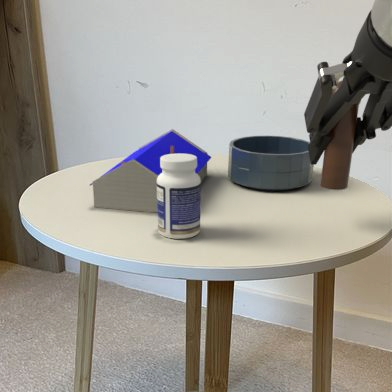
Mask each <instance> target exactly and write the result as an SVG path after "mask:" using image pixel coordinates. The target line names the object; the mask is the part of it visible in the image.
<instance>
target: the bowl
mask: <svg viewBox="0 0 392 392" xmlns="http://www.w3.org/2000/svg"><path fill="white" fill-rule="evenodd" d="M309 144H310V141H309V140H305V139H301V138H296V137H291V136H281V135H249V136H243V137H242V136H241V137H238V138H234V139H232V140H230V142H229V144H228V164H227V177H228V179H229V180H230V181H231V182H233V183H236V184H237V185H240V186H243V187H246V188H249V189H255V190H260V191H275V192H276V191H288V190H294V189H297V188H301V187H305V186H308V185H309V184H310V183H312V182H313V174H314V166H315V165H311V163H310V157H309V151H308V146H309Z"/></svg>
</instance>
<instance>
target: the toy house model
mask: <svg viewBox="0 0 392 392" xmlns="http://www.w3.org/2000/svg"><path fill="white" fill-rule="evenodd" d="M177 153H182V154H191V155H194V156H196V157H197V168H196V169H195V173H196V174H198V175H199V177H200V180H201V183H202V182H203V180H204V179H205V178H206V177H207V176H208V162H209V161H210V160H211V159H212V156H211V155H209V154H208V152H207V151H206V150H204V149H202V148H201V147H200V146H198V145H197V144H195V143H194V142H192V141H191V140H189V138H186V137H185V136H184V135H182V134H181V133H180V132H178V131H176V130H175V129H174V128H172V129H170V130H168V131H167V132H165V133H163V134H161V135H160V136H158V137H156V138H154V139H152V140H150V141H149V142H147V143H145V144H143V145H142V146H140V147H138V149H137V150H135V151H134V152H132V153H131V154H130V155H128V156H127V157H125V158H124V159H123V160H121V161H120V162H118V164H116V165H114V166H113V167H112V168H109V170H107V171H106V172H105V173H104V174H102V175H101V176H100V177H98V178H96V179H94V180H93V181H92V182H91V183H90V184H89V186H90V187H91V186H92V193H93V205H94V206H93V207H94V208H99V209H100V208H101V209H112V210H123V211H136V212H146V213H156V214H157V178H158V176H159V175H160V174H161V173H162V168H161V167H160V158H161V156H164V155H167V154H177Z"/></svg>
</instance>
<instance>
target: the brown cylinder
mask: <svg viewBox="0 0 392 392" xmlns="http://www.w3.org/2000/svg"><path fill="white" fill-rule="evenodd" d="M342 82H343V79H341V80H339V81H338V83H337V84H336V85H337V88H336V89H333V92H332V96H333V94H334V93H335V92H336V91H337V89H338V88H339V87H340V86H341V84H342ZM332 96H331V97H332ZM361 101H362V99H361V100H360V102H359V103H358V104H353V105H352V106H351V107H350V109H349V110H348V111H347V112H346V113H345V114H344V116H343V117H342V118H341V119H340V120H339V121H338V122H337V124H336V125H335V126H334V127H333V128H332V129H331V133H332V138H331V140H330V142H329V143H328V145H327V147H326V148H325V150H324V152H323V160H322V169H321V177H320V187H322V188H323V189H327V190H332V191H339V190H340V191H341V190H345V189H347V188H348V187H349V180H350V172H351V166H352V158H353V154H352V152H353V145H354V137H355V130H356V123H357V117H359V116H358V115H359V107H360V104H361ZM353 153H354V152H353Z"/></svg>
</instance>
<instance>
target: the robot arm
mask: <svg viewBox="0 0 392 392" xmlns="http://www.w3.org/2000/svg"><path fill="white" fill-rule="evenodd" d="M329 65H330V64H329V63H328V61H321V62H319V63H318V64H317V75H318V76H317V79H316V82H315V85H314V87H313V90H312V92H311V95H310V98H309V100H308V103H307V104H306V105H307V106H306V108H305V110H304V113H303V117H304V122H305V127H306V132H307V134H308V137H309V142H310V144H309V146H308V151H309V157H310V163H311V165H314V166H315V165H317V163H319V160H320V159H321V157H322V155H324V150H325V148H326V147H327V145H328V143H329V142H330V140H331V138H332V133H331V129H332V128H333V127H334V126H335V125H336V124H337V122H338V121H339V120H340V119H341V118H342V117H343V116H344V114H345V113H346V112H347V111H348V110H349V109H350V107H351V106H352V105H353V104H358V103H359V102H360V100H361V101H362V99H363V98H364V97H365V96H366V95H368V98H367V101H366V104H365V106H364V109H363V112H362V115H361V116H357V123H356V130H355V137H354V145H353V152H352V155H353V154H354V152H355V151H356V150H357V147H358V146H362V145H363V144H364V143H365V142H366V141H367V140H373V139H375V138H376V137H377V134H376V133H377V132H376V130H379V129H380V130H381V132H384V131H386V132H387V131H388V130H390V129H391V128H392V0H374V2H373V4H372V7H371V9H370V11H369V12H368V14H367V16H366V18H365V20H364V22H363V24H362V26H361V27H360V30H359V31H358V33H357V36H356V39H355V41H354V45H353V49H352V50H351V51H350V52H349V53H348V54H347V55H346V56H345V57H344V58H343V59H342V62H341V63H339V64H335V65H331V66H329ZM341 78H342V80H343V82H342V84H341V86H340V87H339V88H338V89H337V91H336V92H335V93H334V94H333V96H332V92H333V89H336V88H337V85H336V84H337V83H338V82H339V81H340V79H341ZM331 96H332V97H331ZM360 103H361V102H360Z"/></svg>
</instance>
